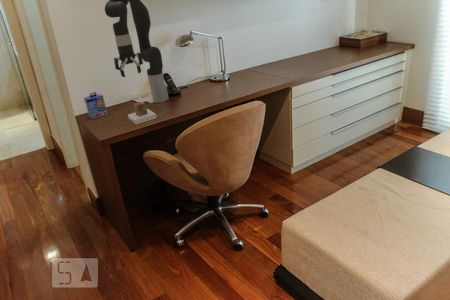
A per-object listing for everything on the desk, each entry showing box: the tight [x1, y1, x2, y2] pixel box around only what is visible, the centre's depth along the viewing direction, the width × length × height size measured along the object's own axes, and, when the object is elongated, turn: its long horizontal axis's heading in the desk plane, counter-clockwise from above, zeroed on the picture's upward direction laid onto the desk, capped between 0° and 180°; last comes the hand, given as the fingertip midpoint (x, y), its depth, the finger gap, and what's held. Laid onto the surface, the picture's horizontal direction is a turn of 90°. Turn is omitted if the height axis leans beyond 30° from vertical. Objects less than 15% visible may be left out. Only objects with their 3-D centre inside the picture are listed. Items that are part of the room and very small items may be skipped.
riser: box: [127, 108, 157, 125], centre depth 199 cm, size 12×12×3 cm
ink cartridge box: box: [83, 91, 108, 120], centre depth 209 cm, size 10×6×14 cm, turn 127°
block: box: [133, 101, 148, 116], centre depth 197 cm, size 5×5×6 cm
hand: (131, 75), depth 190 cm, fingers open, 8 cm apart
